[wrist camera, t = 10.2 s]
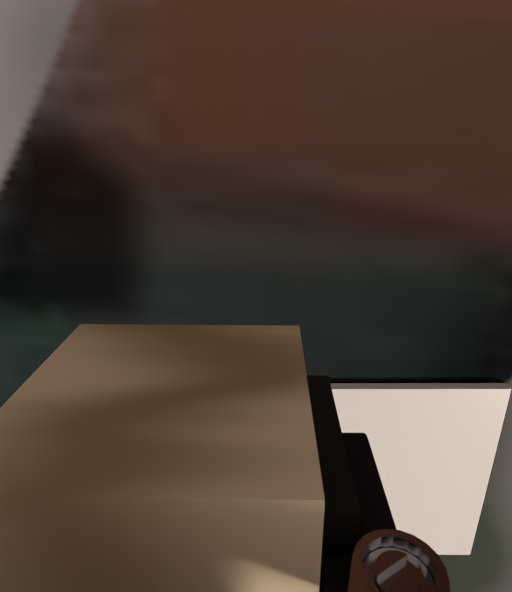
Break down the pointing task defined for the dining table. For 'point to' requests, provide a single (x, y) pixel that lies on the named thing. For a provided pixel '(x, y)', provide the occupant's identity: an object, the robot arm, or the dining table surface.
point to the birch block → (163, 464)
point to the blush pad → (429, 451)
